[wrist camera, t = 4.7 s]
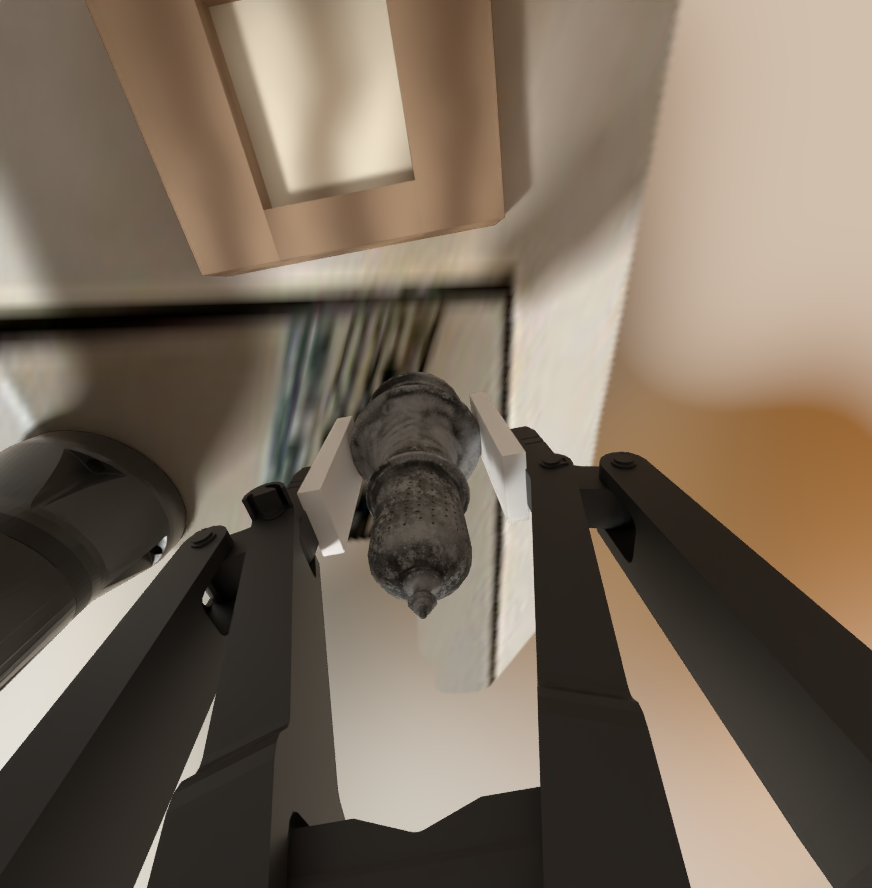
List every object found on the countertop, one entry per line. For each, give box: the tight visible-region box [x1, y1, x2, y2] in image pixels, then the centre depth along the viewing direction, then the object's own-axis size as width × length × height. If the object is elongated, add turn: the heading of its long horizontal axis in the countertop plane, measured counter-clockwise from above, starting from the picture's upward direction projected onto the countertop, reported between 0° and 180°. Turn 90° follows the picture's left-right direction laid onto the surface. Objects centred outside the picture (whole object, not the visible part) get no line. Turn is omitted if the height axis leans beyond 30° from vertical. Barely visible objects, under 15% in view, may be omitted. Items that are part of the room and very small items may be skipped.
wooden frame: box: [85, 0, 505, 276], centre depth 20 cm, size 20×15×3 cm
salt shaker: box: [350, 372, 481, 619], centre depth 13 cm, size 6×6×12 cm
